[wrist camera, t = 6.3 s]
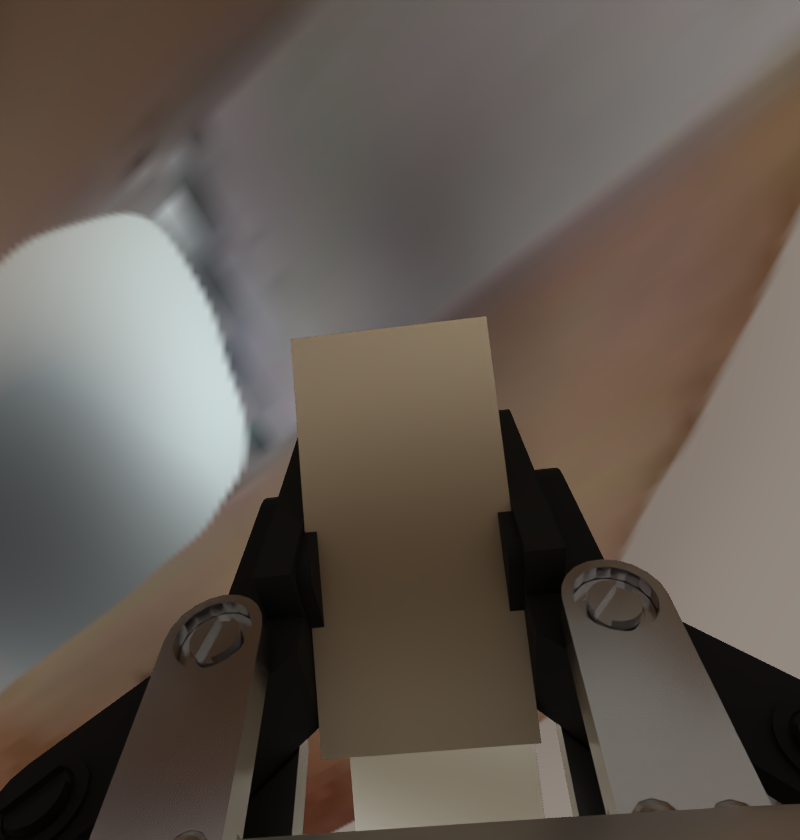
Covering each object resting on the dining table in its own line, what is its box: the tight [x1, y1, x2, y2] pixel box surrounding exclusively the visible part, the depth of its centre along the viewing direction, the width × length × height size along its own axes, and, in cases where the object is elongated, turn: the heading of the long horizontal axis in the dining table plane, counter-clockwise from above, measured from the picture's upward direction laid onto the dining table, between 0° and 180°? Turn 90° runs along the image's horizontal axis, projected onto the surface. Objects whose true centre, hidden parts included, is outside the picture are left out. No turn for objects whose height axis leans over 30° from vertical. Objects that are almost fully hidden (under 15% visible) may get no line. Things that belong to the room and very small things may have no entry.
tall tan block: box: [291, 316, 545, 831], centre depth 10 cm, size 10×4×5 cm
